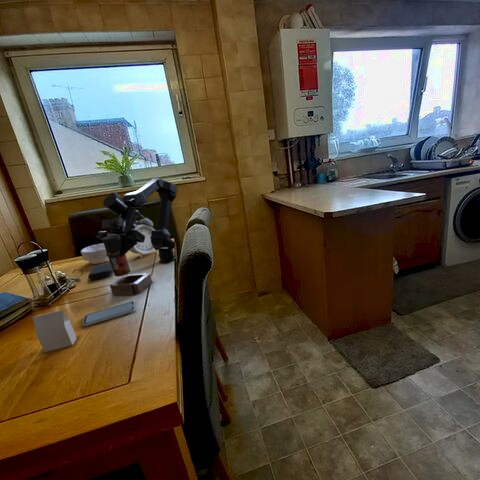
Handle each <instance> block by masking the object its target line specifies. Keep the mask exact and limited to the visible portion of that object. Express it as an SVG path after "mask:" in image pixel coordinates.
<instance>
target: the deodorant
mask: <svg viewBox="0 0 480 480" xmlns="http://www.w3.org/2000/svg"><path fill="white" fill-rule="evenodd" d="M101 241H102V243H104V246H105V249H106V252H107V255H108V258H109V263H111V266H112V269H113V275H114V276H115V277H122V276H124V275H129V274H131V272H132V271H131V270H132V269H131V268H130V267H131V266H130V263H129V261H128V258H127V253H126V254H125V255H124V256H123V257H120V256H119V255H120V251H121V247H122V244H123V241H122V239H120V236H119V235H110V236H107V237H104V238H102V240H101Z"/></svg>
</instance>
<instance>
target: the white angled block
mask: <svg viewBox="0 0 480 480" xmlns="http://www.w3.org/2000/svg"><path fill="white" fill-rule="evenodd" d="M32 320H33V325H34V332H35V335H36V337H37V339H38V341H39V344H40V347H41V348H42V350H43V352H44V353H49V352H51V351H56V350H60V349H64V348H67V347H71V346H74V344H75V342H76V341H77V338H78V337H77V335H76V333H75V330H74V328H73V324H72V323H71V320H70V319H69V317H68V316H67V315H66V314H65V312H64V311H63V309H60V310H55V311H52V312H47V313H42V314H38V315H33V316H32Z"/></svg>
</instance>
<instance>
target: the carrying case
mask: <svg viewBox="0 0 480 480" xmlns="http://www.w3.org/2000/svg"><path fill="white" fill-rule="evenodd" d="M112 274H114V272H113V269H112V266H111V263H110V262H107V263H101V264H97V265H94V266H92V268H91V269H90V272H89V273H88V277H87V278H88V279H89V281H95V280H99V279H104V278H108V277H111V276H112Z"/></svg>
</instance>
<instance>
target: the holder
mask: <svg viewBox="0 0 480 480" xmlns="http://www.w3.org/2000/svg"><path fill="white" fill-rule="evenodd" d="M152 279H153V278H152V276H151V273H148V272H141V273H140V272H137V273H129V274H127V275H124V276H120V277H119V278H117V280H115V281H114V282H112V283H110V284H109V287H110V291H111V295H114V296H117V297H118V296H134V295H135V294H137V295H138V294H141V293H143V292H144V291H145V290H146V289H147V288H148V287H150V286H151V284H153V280H152Z"/></svg>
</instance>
